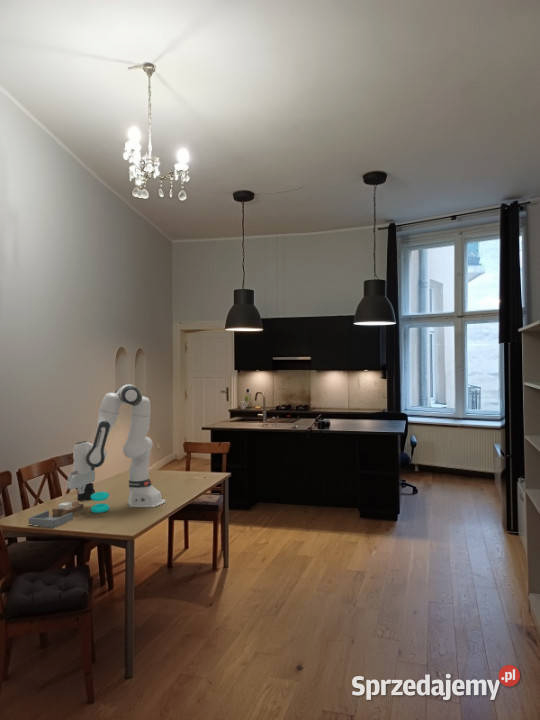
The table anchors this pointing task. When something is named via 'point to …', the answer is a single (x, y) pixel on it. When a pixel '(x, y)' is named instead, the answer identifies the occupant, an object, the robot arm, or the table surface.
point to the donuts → (101, 507)
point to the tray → (49, 520)
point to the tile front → (65, 505)
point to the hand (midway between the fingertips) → (81, 493)
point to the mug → (86, 492)
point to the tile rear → (73, 502)
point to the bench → (68, 511)
